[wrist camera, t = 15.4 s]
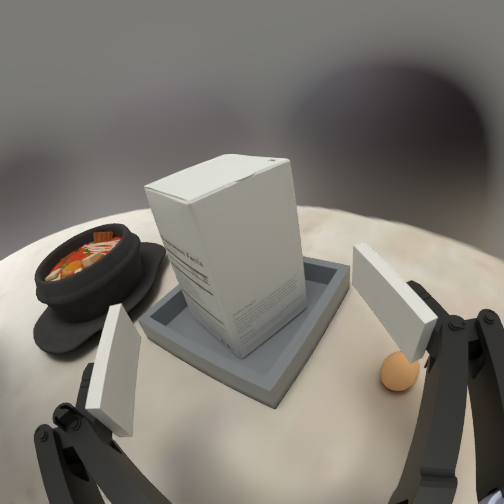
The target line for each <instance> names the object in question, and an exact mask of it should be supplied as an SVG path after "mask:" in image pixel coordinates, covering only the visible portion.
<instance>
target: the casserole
mask: <svg viewBox="0 0 504 504" xmlns="http://www.w3.org/2000/svg"><path fill="white" fill-rule="evenodd" d="M165 254H166V249H165V248H164V247H163V246H162V245H159V244H156V243H149V242H141V241H140V239H139V237H138V236H137V235H136V234H134V233H131V231H130V230H129V229H128V228H127V227H126V226H125V225H123V224H116V223H114V224H106V225H101V226H98V227H95V228H92V229H89V230H87V231H84V232H82V233H80V234H78V235H76V236H74V237H72V238H71V239H69V240H67V241H66V242H64V243H63V244H61V245H60V246H59V247H57V248H56V249H55V250H53V251H52V252H51V253H50V254H49V255H48V256H47V257H46V258H45V259H44V260H43V261H42V263H41V264H40V265H39V267H38V268H37V270H36V273H35V282H36V287H37V288H36V296H37V299H38V300H39V301H40V302H42V303H45V304H47V305H48V307H47V309H46V310H45V311H44V312H43V314H42V315H41V316H40V318H39V319H38V321H37V322H36V324H35V327H34V331H33V334H34V340H35V343H36V344H37V346H38V347H39V348H40V349H42V350H43V351H45V352H47V353H52V354H64V353H67V352H69V351H71V350H74V349H75V348H77V347H78V346H80V345H81V344H83V343H84V342H85V341H86V340H87V339H88V338H90V337H91V336H92V335H94V334H95V333H96V332H98V331H100V330H101V329H103V328H104V324H105V321H106V317H107V314H108V311H109V307H110V306H112V305H117V304H121V303H122V305H123V307H124V309H125V311H126V313H128V312H130V311H131V310H132V309H133V308H134V307H135V306H136V305H137V304H138V303H139V302H140V301H141V300H142V299H143V298H144V297H145V296H146V294H147V293H148V292H149V290H150V289H151V287H152V285H153V283H154V281H155V278H156V274H157V271H158V267H159V265H160V263H161V261H162V259H163V257H164V256H165Z"/></svg>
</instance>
